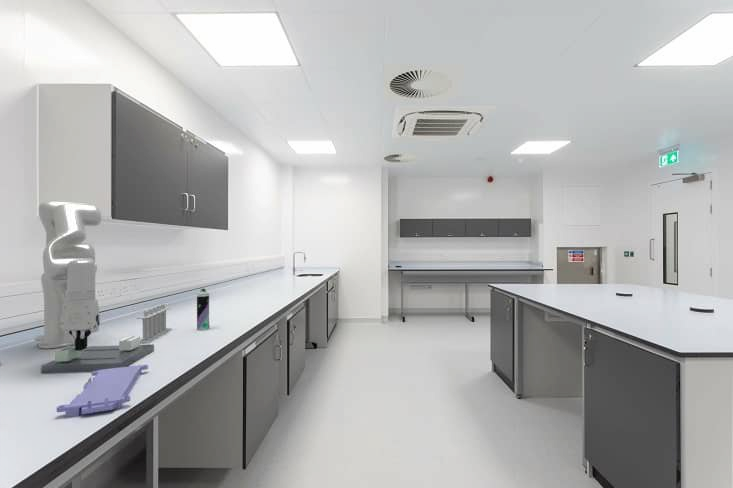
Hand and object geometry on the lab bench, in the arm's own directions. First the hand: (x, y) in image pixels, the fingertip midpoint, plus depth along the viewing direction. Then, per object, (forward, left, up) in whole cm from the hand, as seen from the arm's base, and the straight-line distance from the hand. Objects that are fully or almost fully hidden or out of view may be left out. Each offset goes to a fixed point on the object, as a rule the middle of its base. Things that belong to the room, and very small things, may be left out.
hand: (81, 349), depth 120 cm
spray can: (+22, +51, -6) cm, 56 cm away
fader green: (-4, -1, -3) cm, 5 cm away
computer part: (+23, -24, -6) cm, 34 cm away
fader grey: (+10, +10, -3) cm, 15 cm away
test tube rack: (+5, +40, -6) cm, 41 cm away
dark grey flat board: (+4, +5, -6) cm, 9 cm away
